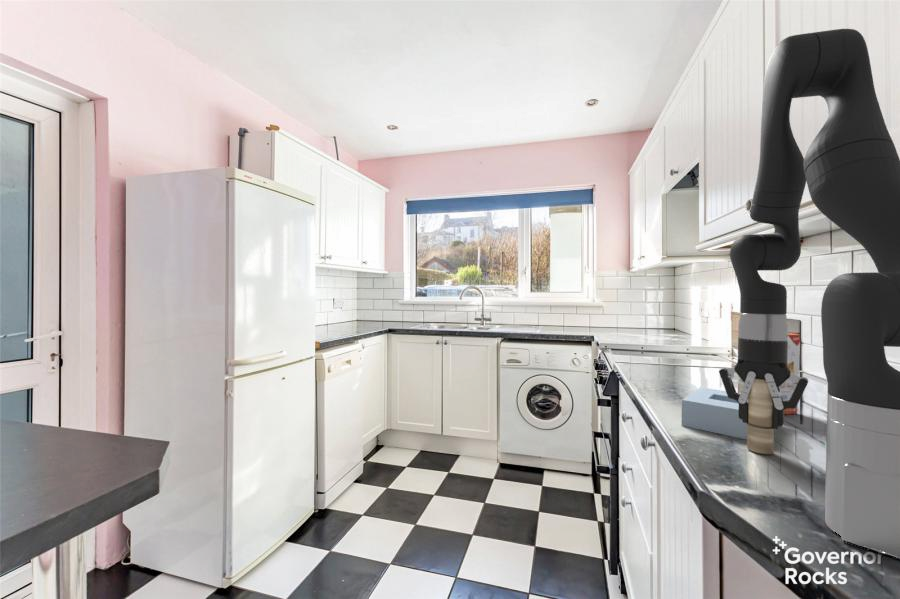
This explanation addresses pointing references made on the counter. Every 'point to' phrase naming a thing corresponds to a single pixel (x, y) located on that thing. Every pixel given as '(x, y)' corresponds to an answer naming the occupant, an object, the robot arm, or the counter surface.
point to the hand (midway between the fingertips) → (760, 424)
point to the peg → (760, 418)
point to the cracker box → (792, 365)
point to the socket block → (713, 413)
